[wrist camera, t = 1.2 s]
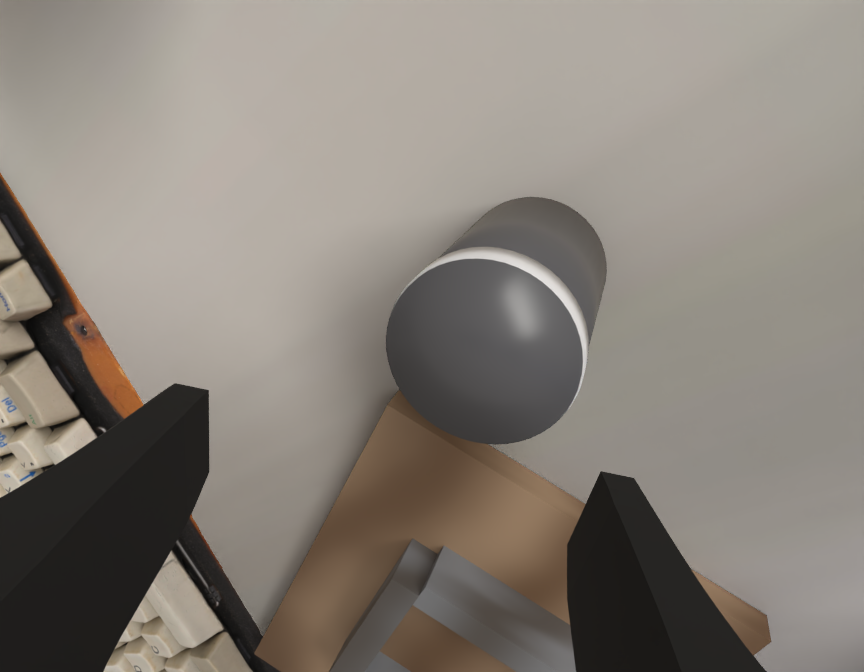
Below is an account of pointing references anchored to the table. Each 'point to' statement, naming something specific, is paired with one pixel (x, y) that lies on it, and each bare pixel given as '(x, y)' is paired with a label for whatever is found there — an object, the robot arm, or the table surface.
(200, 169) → the table surface
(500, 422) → the lens
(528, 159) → the table surface
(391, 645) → the mount board
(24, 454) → the mechanical keyboard
